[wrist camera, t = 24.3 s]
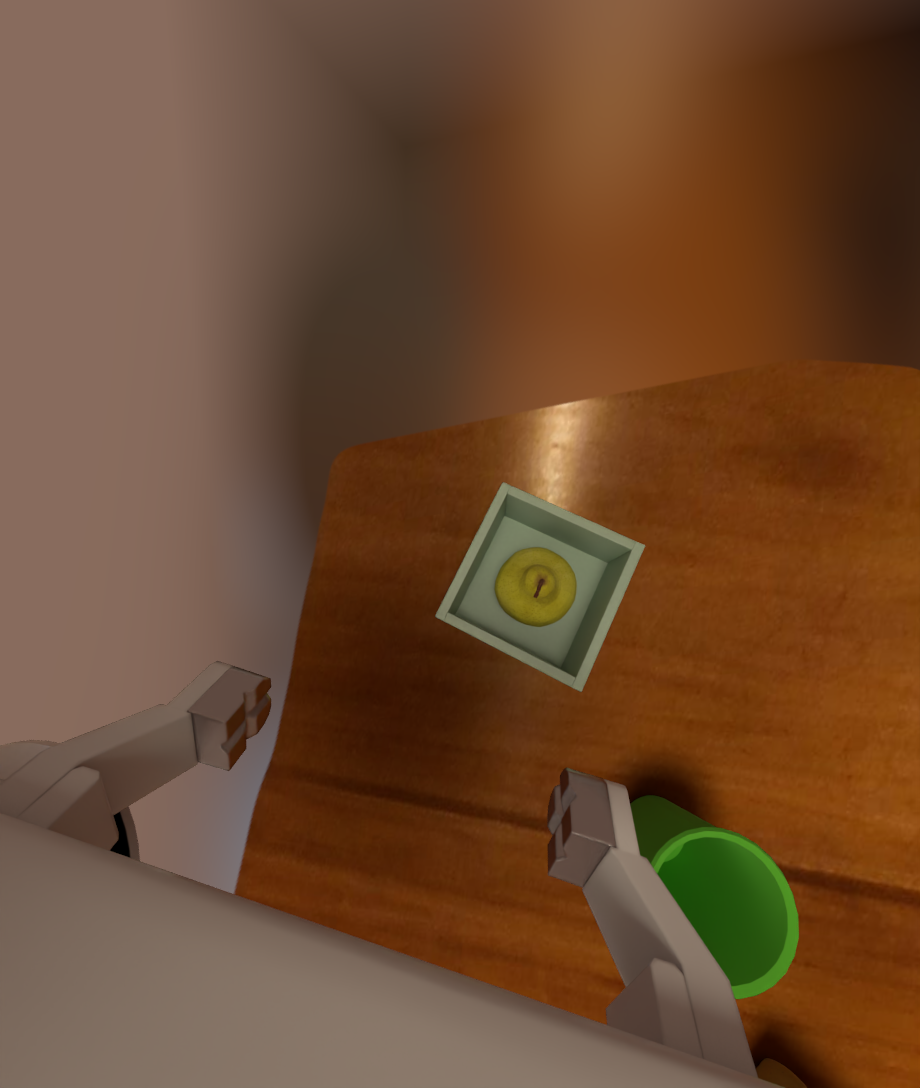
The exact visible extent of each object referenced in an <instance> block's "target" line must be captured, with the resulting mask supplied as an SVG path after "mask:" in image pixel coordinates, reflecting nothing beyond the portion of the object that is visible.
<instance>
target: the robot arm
mask: <svg viewBox="0 0 920 1088" xmlns="http://www.w3.org/2000/svg"><path fill="white" fill-rule="evenodd" d="M270 688H271V679H270V678H268V677H265V676H262V675H259V674H256V673H253V672H250V671H247V670H244V669H241V668H238V667H235V666H232V665H228V664H226V663H222V662H219V661H217V662H214V663H212V664H211V665H209V666H208V667H207V668H206V669H205V670H204V671H203V672H202V673H201V674H200V675H199V676H197V677H196V678H195V679H194V680H193V681H192V682H191V683H190V684H189V685H188V686H187V687H186V688H185V689H183V690H182V691H181V692H180V693H179V694H178V695H177V696H176V697H175V698H174V699H173V700H172V701H171V702H169V703H168V704H167V705H163V704H160V705H157V706H155V707H152V708H150V709H147V710H144V711H142V712H139V713H137V714H134V715H132V716H129V717H127V718H124V719H121V720H119V721H116V722H114V723H111V724H109V725H106V726H103V727H101V728H98V729H96V730H93V731H91V732H88V733H85V734H83V735H80V736H78V737H75V738H73V739H70V740H68V741H65V742H62V743H60V744H57V745H55V746H52V747H50V748H47V749H45V750H42V751H41V752H40V753H39V754H37V755H36V756H35V757H34V758H32V759H31V760H30V761H28V762H27V763H26V764H25V765H23V766H22V767H21V768H20V769H18V770H17V771H16V772H15V773H13V774H12V775H11V776H10V777H8V778H7V779H6V780H3V779H0V1088H785V1087H782V1086H779V1085H776V1084H773V1083H771V1082H768V1081H765V1080H762V1079H759V1078H758V1076H757V1072H756V1069H755V1065H754V1062H753V1059H752V1055H751V1052H750V1049H749V1045H748V1042H747V1038H746V1035H745V1032H744V1028H743V1025H742V1021H741V1018H740V1015H739V1011H738V1008H737V1005H736V1001H735V998H734V994H733V991H732V988H731V984H730V981H729V979H728V978H727V976H726V975H725V973H724V972H723V970H722V969H721V967H720V966H719V964H718V963H717V962H716V960H715V959H714V957H713V956H712V954H711V953H710V951H709V950H708V948H707V947H706V945H705V944H704V942H703V941H702V939H701V938H700V936H699V935H698V933H697V932H696V930H695V929H694V927H693V926H692V924H691V923H690V922H689V920H688V919H687V917H686V916H685V914H684V913H683V911H682V910H681V908H680V907H679V905H678V904H677V902H676V901H675V899H674V898H673V896H672V895H671V893H670V892H669V890H668V889H667V887H666V886H665V885H664V883H663V882H662V880H661V879H660V877H659V876H658V874H657V873H656V871H655V870H654V868H653V867H652V865H651V864H650V862H649V861H648V859H647V858H645V857H643V856H640V852H639V846H638V841H637V836H636V831H635V826H634V821H633V816H632V811H631V806H630V801H629V796H628V791H627V789H626V787H625V785H622V784H618V783H615V782H612V781H608V780H605V779H603V778H600V777H597V776H593V775H590V774H586V773H583V772H579V771H576V770H572V769H569V768H565V769H564V770H563V771H562V773H561V775H560V785H557V786H555V787H554V789H553V791H552V794H551V796H550V801H549V805H548V817H547V826H548V828H549V830H550V832H551V833H552V835H553V836H552V838H551V840H550V842H549V843H548V875H549V876H552V877H555V878H557V879H560V880H563V881H566V882H569V883H571V884H574V885H577V886H580V887H583V889H582V890H583V893H584V895H585V897H586V899H587V902H588V904H589V906H590V908H591V910H592V913H593V915H594V917H595V919H596V922H597V924H598V926H599V928H600V931H601V933H602V935H603V937H604V940H605V942H606V944H607V946H608V948H609V951H610V953H611V955H612V957H613V960H614V962H615V964H616V966H617V969H618V971H619V973H620V975H621V977H622V980H623V982H624V984H625V986H626V988H625V989H624V990H623V991H622V992H621V993H620V994H619V995H618V996H617V997H616V999H615V1000H614V1001H613V1002H612V1003H611V1004H610V1005H609V1006H608V1007H607V1008H606V1016H607V1025H605V1024H602V1023H599V1022H597V1021H594V1020H591V1019H588V1018H585V1017H582V1016H580V1015H577V1014H574V1013H571V1012H568V1011H565V1010H562V1009H560V1008H557V1007H554V1006H551V1005H548V1004H545V1003H542V1002H540V1001H537V1000H534V999H531V998H528V997H525V996H523V995H520V994H517V993H514V992H511V991H508V990H505V989H503V988H500V987H497V986H494V985H491V984H488V983H485V982H483V981H480V980H477V979H474V978H471V977H468V976H465V975H463V974H460V973H457V972H454V971H451V970H448V969H445V968H443V967H440V966H437V965H434V964H431V963H428V962H426V961H423V960H420V959H417V958H414V957H411V956H408V955H406V954H403V953H400V952H397V951H394V950H391V949H388V948H386V947H383V946H380V945H377V944H374V943H371V942H368V941H366V940H363V939H360V938H357V937H354V936H351V935H349V934H346V933H343V932H340V931H337V930H334V929H331V928H329V927H326V926H323V925H320V924H317V923H314V922H311V921H309V920H306V919H303V918H300V917H297V916H294V915H291V914H289V913H286V912H283V911H280V910H277V909H274V908H272V907H269V906H266V905H263V904H260V903H257V902H254V901H252V900H249V899H246V898H243V897H240V896H237V895H234V894H232V893H228V892H225V891H223V890H220V889H217V888H214V887H211V886H209V885H206V884H203V883H200V882H197V881H194V880H192V879H188V878H186V877H183V876H180V875H177V874H174V873H172V872H169V871H166V870H163V869H160V868H157V867H154V866H152V865H148V864H145V863H143V862H140V861H137V860H134V859H132V858H129V857H126V856H123V855H120V854H117V853H114V852H112V851H109V850H110V849H111V848H112V846H113V845H114V844H115V843H116V842H117V841H118V834H119V833H118V829H117V826H116V823H115V820H114V817H113V815H114V814H116V813H118V812H119V811H121V810H123V809H124V808H126V807H128V806H129V805H131V804H133V803H134V802H136V801H138V800H139V799H141V798H142V797H144V796H146V795H147V794H149V793H150V792H152V791H154V790H156V789H157V788H159V787H161V786H162V785H164V784H165V783H167V782H169V781H171V780H172V779H174V778H176V777H177V776H179V775H180V774H182V773H184V772H185V771H187V770H189V769H190V768H192V767H194V766H195V765H197V763H198V762H200V763H203V764H207V765H210V766H213V767H217V768H220V769H224V770H227V771H229V770H230V769H231V768H232V767H233V765H234V764H235V763H236V761H237V760H238V759H239V757H240V756H241V755H242V753H243V752H244V751H245V749H246V739H248V738H250V737H252V736H254V735H256V734H257V733H258V732H259V730H260V729H261V728H262V726H263V725H264V723H265V721H266V719H267V717H268V715H269V712H270V708H271V698H270V697H269V695H268V694H267V692H268V690H269V689H270Z"/></svg>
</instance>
